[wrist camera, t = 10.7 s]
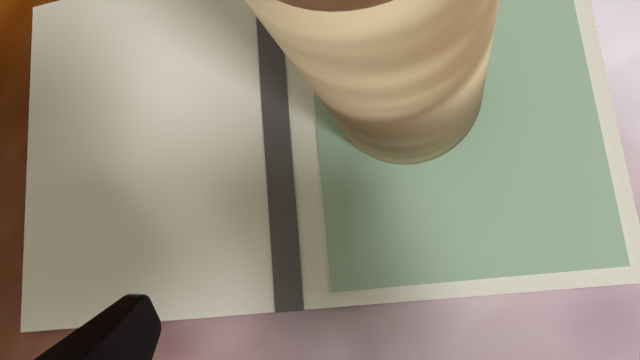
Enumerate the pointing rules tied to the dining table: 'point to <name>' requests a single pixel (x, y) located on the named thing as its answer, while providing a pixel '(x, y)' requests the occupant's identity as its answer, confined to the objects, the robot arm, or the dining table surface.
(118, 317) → the robot arm
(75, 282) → the board
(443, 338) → the dining table surface
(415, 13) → the wooden pin
